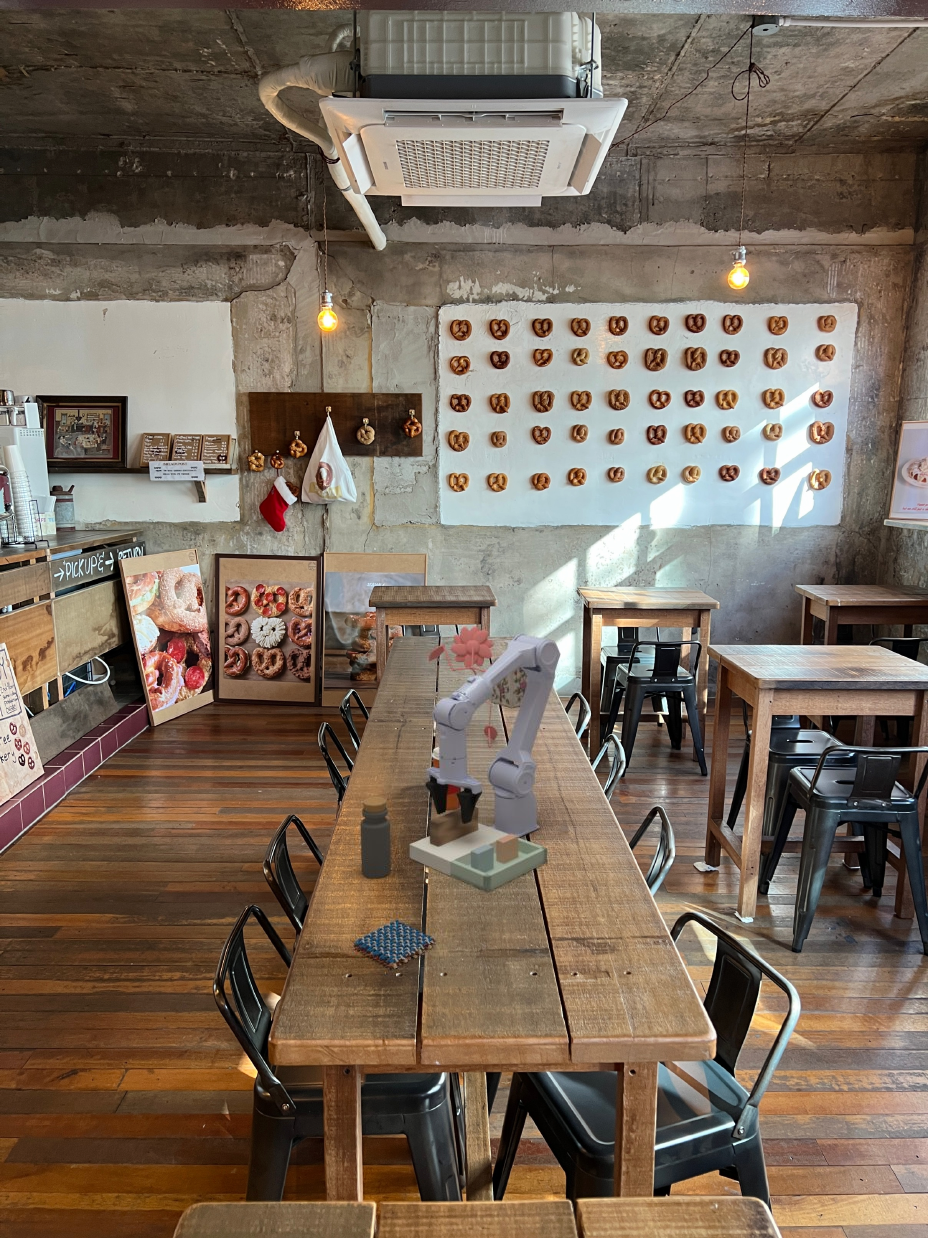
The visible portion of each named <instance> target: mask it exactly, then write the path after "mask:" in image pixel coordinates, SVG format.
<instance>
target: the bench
mask: <svg viewBox="0 0 928 1238" xmlns="http://www.w3.org/2000/svg"><path fill="white" fill-rule="evenodd" d="M507 835H509V834H507V833H504V832H502V831H499V830H496V829H493V828H491V826H488V825H484V824H482V823H480V822H478V830H477V831H475V832H472V833H470V834H468V835H465V836H463V837H461V838H458V839H456V840H453V841H451V842H449V843H446V844H444V845H442V846H439V847H437V846H435V845H432V844H430V835H429V836H426V837H424V838H422V839H420V840H419V839H418V840H417V841H414V842H412V843H409V859H411V860H413V861H416V862H418V863H421V864H423V865H425V866H427V867H429V868H432V869H434V870H436V871H439V872H441V873H443V874H445V875H448V876H450V861H453V860H455V861H457V862H460V863H462V864H465V865H469V864H471V851H472V850H474V849H476V848H479V847H481V846H483V845H486V844H487V845H490V846H492V847H494V853H495V852H496V840H498V839H500V838H502V837H504V836H507Z"/></svg>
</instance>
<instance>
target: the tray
mask: <svg viewBox="0 0 928 1238" xmlns="http://www.w3.org/2000/svg"><path fill="white" fill-rule="evenodd" d="M547 862H548V847H545V846H542V845H540V844H537V843H533V842H532V841H528V840H525V839H523V838H520V837H519V838H518V857H517V858H515V859H513V860H511V861H509V862H507V863H504V864H503V863H500V862H498V861H496V852H495V853H494V868H493V869H491V870H489V871H487V872H485V873H484V872H481V871H479V870H477V869H474V868H472V867H471V864H469V865H465V864H462V863H460V862H457V861H455V860H453V861H450V875H449V876H450V877H452V878H454V879H457V880H459V881H462V882H464V883H466V884H468V885H470V886H472V887H475V888H477V889H478V890H479V889H480V890H482V891H484V892H487V893H489V892H490V891H492V890H494V889H496V888H499V887H501V886H502V885H505V884H507V883H509V882H510V881H512V880H514V879H516V878H518V877H520V876H523V875H525V874H526V873H528V872H530V871H532V870H535V869H536V868H539V867H540V866H542V865H544V864H547Z"/></svg>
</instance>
